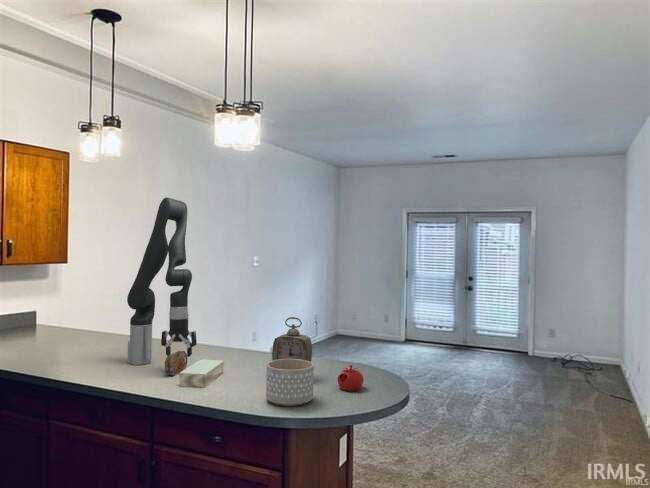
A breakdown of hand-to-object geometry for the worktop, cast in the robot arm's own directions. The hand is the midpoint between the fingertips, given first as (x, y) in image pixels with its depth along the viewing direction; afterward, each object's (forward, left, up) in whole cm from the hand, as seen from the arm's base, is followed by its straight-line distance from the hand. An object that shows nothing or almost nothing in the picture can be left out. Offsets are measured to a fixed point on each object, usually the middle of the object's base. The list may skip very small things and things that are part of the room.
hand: (178, 356), depth 210 cm
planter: (+52, -28, -7) cm, 59 cm away
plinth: (+13, -8, -7) cm, 17 cm away
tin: (-1, -1, -7) cm, 7 cm away
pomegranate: (+72, -10, -7) cm, 73 cm away
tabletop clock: (+48, -1, -7) cm, 49 cm away
